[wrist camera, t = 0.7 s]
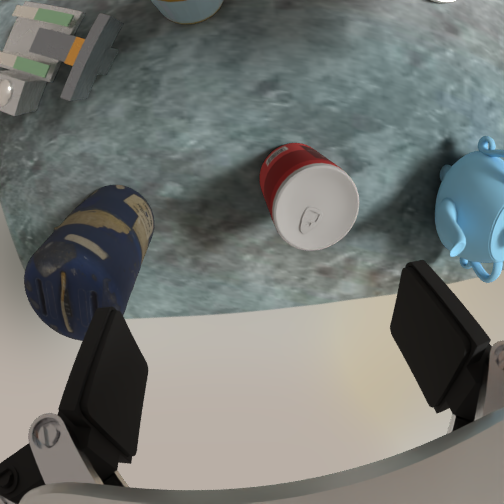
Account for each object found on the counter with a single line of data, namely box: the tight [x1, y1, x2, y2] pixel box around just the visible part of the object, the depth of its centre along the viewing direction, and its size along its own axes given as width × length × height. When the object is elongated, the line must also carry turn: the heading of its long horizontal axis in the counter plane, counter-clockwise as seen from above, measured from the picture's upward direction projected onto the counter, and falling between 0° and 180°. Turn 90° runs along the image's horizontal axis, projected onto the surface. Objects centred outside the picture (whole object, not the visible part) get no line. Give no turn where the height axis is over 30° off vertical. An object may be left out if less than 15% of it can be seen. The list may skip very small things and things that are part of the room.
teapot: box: [435, 136, 504, 283], centre depth 32 cm, size 16×20×14 cm
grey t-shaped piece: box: [29, 13, 124, 101], centre depth 20 cm, size 8×11×7 cm
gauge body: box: [0, 1, 86, 116], centre depth 21 cm, size 13×11×5 cm
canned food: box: [260, 143, 359, 251], centre depth 30 cm, size 8×8×11 cm
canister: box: [24, 185, 154, 341], centre depth 27 cm, size 10×10×18 cm
